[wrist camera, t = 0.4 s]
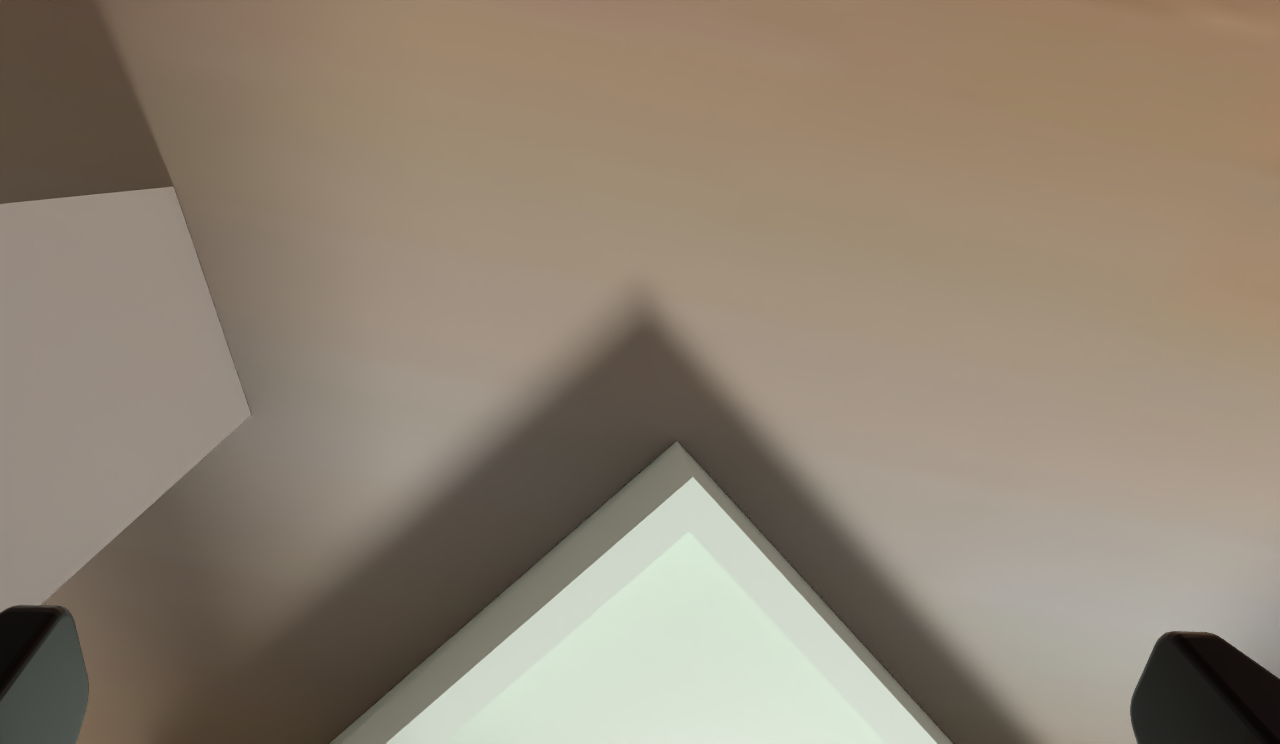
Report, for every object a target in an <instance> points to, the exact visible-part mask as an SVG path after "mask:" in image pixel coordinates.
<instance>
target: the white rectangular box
mask: <svg viewBox="0 0 1280 744" xmlns="http://www.w3.org/2000/svg"><path fill="white" fill-rule="evenodd" d="M250 416H251V413H250V410H249V407H248V404H247V401H246V398H245V395H244V392H243V389H242V386H241V383H240V380H239V377H238V375H237V372H236V369H235V366H234V363H233V360H232V357H231V354H230V351H229V348H228V345H227V342H226V339H225V336H224V333H223V330H222V327H221V325H220V322H219V319H218V316H217V313H216V310H215V307H214V304H213V301H212V298H211V295H210V292H209V289H208V286H207V283H206V280H205V277H204V275H203V272H202V269H201V266H200V263H199V260H198V257H197V254H196V251H195V248H194V245H193V242H192V239H191V236H190V233H189V230H188V228H187V225H186V222H185V219H184V216H183V213H182V210H181V207H180V204H179V201H178V198H177V195H176V192H175V189H174V187H164V188H154V189H144V190H134V191H124V192H114V193H104V194H94V195H84V196H74V197H64V198H54V199H44V200H35V201H25V202H15V203H5V204H0V612H2V611H4V610H5V609H7V608H9V607H12V606H16V605H41V604H42V603H43V602H44V601H45V600H46V599H48V598H49V597H50V596H51V595H52V594H53V593H54V592H55V591H56V590H58V589H59V588H60V587H61V586H62V585H63V584H64V583H65V582H66V581H68V580H69V579H70V578H71V577H72V576H73V575H74V574H75V573H76V572H78V571H79V570H80V569H81V568H82V567H83V566H84V565H85V564H86V563H88V562H89V561H90V560H91V559H92V558H93V557H94V556H95V555H96V554H98V553H99V552H100V551H101V550H102V549H103V548H104V547H105V546H106V545H108V544H109V543H110V542H111V541H112V540H113V539H114V538H115V537H116V536H117V535H119V534H120V533H121V532H122V531H123V530H124V529H125V528H126V527H127V526H129V525H130V524H131V523H132V522H133V521H134V520H135V519H136V518H137V517H139V516H140V515H141V514H142V513H143V512H144V511H145V510H146V509H147V508H149V507H150V506H151V505H152V504H153V503H154V502H155V501H156V500H157V499H159V498H160V497H161V496H162V495H163V494H164V493H165V492H166V491H167V490H169V489H170V488H171V487H172V486H173V485H174V484H175V483H176V482H177V481H179V480H180V479H181V478H182V477H183V476H184V475H185V474H186V473H187V472H189V471H190V470H191V469H192V468H193V467H194V466H195V465H196V464H197V463H199V462H200V461H201V460H202V459H203V458H204V457H205V456H206V455H207V454H209V453H210V452H211V451H212V450H213V449H214V448H215V447H216V446H217V445H219V444H220V443H221V442H222V441H223V440H224V439H225V438H226V437H227V436H228V435H230V434H231V433H232V432H233V431H234V430H235V429H236V428H237V427H238V426H240V425H241V424H242V423H243V422H244V421H245V420H246V419H247V418H248V417H250Z"/></svg>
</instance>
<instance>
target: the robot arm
mask: <svg viewBox="0 0 1280 744" xmlns="http://www.w3.org/2000/svg"><path fill="white" fill-rule="evenodd" d="M88 694H89V682H88V676H87V672H86V667H85V663H84V659H83V655H82V651H81V647H80V643H79V638H78V634H77V630H76V626H75V622H74V619H73V617H72V614H71V613H70V612H69V610H68V609H66V608H64V607H61V606H49V605H16V606H12V607H9V608H7V609H5V610H4V611H2V612H0V744H76V742H77V739H78V736H79V732H80V729H81V725H82V722H83V719H84V715H85V712H86V708H87V702H88ZM1130 716H1131V723H1132V727H1133V731H1134V734H1135V737H1136V741H1137V744H1280V679H1279V678H1277V677H1276V676H1275V675H1273V674H1272V673H1270V672H1269V671H1268V670H1266V669H1265V668H1263V667H1262V666H1260V665H1259V664H1258V663H1256V662H1255V661H1253V660H1252V659H1250V658H1249V657H1248V656H1246V655H1245V654H1243V653H1242V652H1241V651H1239V650H1238V649H1236V648H1235V647H1233V646H1232V645H1231V644H1229V643H1228V642H1226V641H1225V640H1223V639H1222V638H1220V637H1219V636H1217V635H1215V634H1212V633H1207V632H1179V631H1172V632H1167V633H1165V634H1164V635H1162V636H1161V637H1160V638H1159V639H1158V640H1157V642H1156V644H1155V646H1154V648H1153V650H1152V653H1151V655H1150V657H1149V659H1148V662H1147V664H1146V666H1145V668H1144V671H1143V673H1142V675H1141V677H1140V679H1139V682H1138V684H1137V686H1136V688H1135V691H1134V693H1133V696H1132V700H1131V706H1130Z"/></svg>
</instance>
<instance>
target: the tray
mask: <svg viewBox="0 0 1280 744" xmlns="http://www.w3.org/2000/svg"><path fill="white" fill-rule="evenodd" d="M329 744H953V743H952V742H951V741H950V740H949V739H948V738H947V736H946V735H945V734H944V733H943V732H942V731H941V730H940V729H939V728H938V727H937V726H936V724H935V723H934V722H933V721H932V720H931V719H930V718H929V717H928V716H927V715H926V713H925V712H924V711H923V710H922V709H921V708H920V707H919V706H918V705H917V704H916V702H915V701H914V700H913V699H912V698H911V697H910V696H909V695H908V694H907V693H906V692H905V690H904V689H903V688H902V687H901V686H900V685H899V684H898V683H897V682H896V681H895V679H894V678H893V677H892V676H891V675H890V674H889V673H888V672H887V671H886V670H885V668H884V667H883V666H882V665H881V664H880V663H879V662H878V661H877V660H876V659H875V658H874V656H873V655H872V654H871V653H870V652H869V651H868V650H867V649H866V648H865V647H864V645H863V644H862V643H861V642H860V641H859V640H858V639H857V638H856V637H855V636H854V634H853V633H852V632H851V631H850V630H849V629H848V628H847V627H846V626H845V625H844V624H843V622H842V621H841V620H840V619H839V618H838V617H837V616H836V615H835V614H834V613H833V611H832V610H831V609H830V608H829V607H828V606H827V605H826V604H825V603H824V602H823V600H822V599H821V598H820V597H819V596H818V595H817V594H816V593H815V592H814V591H813V590H812V588H811V587H810V586H809V585H808V584H807V583H806V582H805V581H804V580H803V579H802V577H801V576H800V575H799V574H798V573H797V572H796V571H795V570H794V569H793V568H792V566H791V565H790V564H789V563H788V562H787V561H786V560H785V559H784V558H783V557H782V556H781V554H780V553H779V552H778V551H777V550H776V549H775V548H774V547H773V546H772V545H771V543H770V542H769V541H768V540H767V539H766V538H765V537H764V536H763V535H762V534H761V532H760V531H759V530H758V529H757V528H756V527H755V526H754V525H753V524H752V523H751V522H750V520H749V519H748V518H747V517H746V516H745V515H744V514H743V513H742V512H741V511H740V509H739V508H738V507H737V506H736V505H735V504H734V503H733V502H732V501H731V500H730V498H729V497H728V496H727V495H726V494H725V493H724V492H723V491H722V490H721V489H720V488H719V486H718V485H717V484H716V483H715V482H714V481H713V480H712V479H711V478H710V477H709V475H708V474H707V473H706V472H705V471H704V470H703V469H702V468H701V467H700V466H699V464H698V463H697V462H696V461H695V460H694V459H693V458H692V457H691V456H690V455H689V454H688V452H687V451H686V450H685V449H684V448H683V447H682V446H681V445H680V444H679V443H678V441H676V442H675V443H674V444H672V445H671V446H670V447H669V448H668V449H667V450H666V451H664V452H663V453H662V454H661V455H660V456H659V457H658V458H656V459H655V460H654V461H653V462H652V463H651V464H649V465H648V466H647V467H646V468H645V469H644V470H643V471H641V472H640V473H639V474H638V475H637V476H636V477H635V478H633V479H632V480H631V481H630V482H629V483H628V484H627V485H625V486H624V487H623V488H622V489H621V490H620V491H618V492H617V493H616V494H615V495H614V496H613V497H612V498H610V499H609V500H608V501H607V502H606V503H605V504H604V505H602V506H601V507H600V508H599V509H598V510H597V511H596V512H594V513H593V514H592V515H591V516H590V517H589V518H588V519H586V520H585V521H584V522H583V523H582V524H581V525H579V526H578V527H577V528H576V529H575V530H574V531H573V532H571V533H570V534H569V535H568V536H567V537H566V538H565V539H563V540H562V541H561V542H560V543H559V544H558V545H557V546H555V547H554V548H553V549H552V550H551V551H550V552H549V553H547V554H546V555H545V556H544V557H543V558H542V559H540V560H539V561H538V562H537V563H536V564H535V565H534V566H532V567H531V568H530V569H529V570H528V571H527V572H526V573H524V574H523V575H522V576H521V577H520V578H519V579H518V580H516V581H515V582H514V583H513V584H512V585H511V586H509V587H508V588H507V589H506V590H505V591H504V592H503V593H501V594H500V595H499V596H498V597H497V598H496V599H495V600H493V601H492V602H491V603H490V604H489V605H488V606H487V607H485V608H484V609H483V610H482V611H481V612H480V613H479V614H477V615H476V616H475V617H474V618H473V619H472V620H470V621H469V622H468V623H467V624H466V625H465V626H464V627H462V628H461V629H460V630H459V631H458V632H457V633H456V634H454V635H453V636H452V637H451V638H450V639H449V640H448V641H446V642H445V643H444V644H443V645H442V646H441V647H439V648H438V649H437V650H436V651H435V652H434V653H433V654H431V655H430V656H429V657H428V658H427V659H426V660H425V661H423V662H422V663H421V664H420V665H419V666H418V667H417V668H415V669H414V670H413V671H412V672H411V673H410V674H409V675H407V676H406V677H405V678H404V679H403V680H402V681H400V682H399V683H398V684H397V685H396V686H395V687H394V688H392V689H391V690H390V691H389V692H388V693H387V694H386V695H384V696H383V697H382V698H381V699H380V700H379V701H378V702H376V703H375V704H374V705H373V706H372V707H371V708H370V709H368V710H367V711H366V712H365V713H364V714H363V715H361V716H360V717H359V718H358V719H357V720H356V721H355V722H353V723H352V724H351V725H350V726H349V727H348V728H347V729H345V730H344V731H343V732H342V733H341V734H340V735H339V736H337V737H336V738H335V739H334V740H333V741H332V742H330V743H329Z"/></svg>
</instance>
